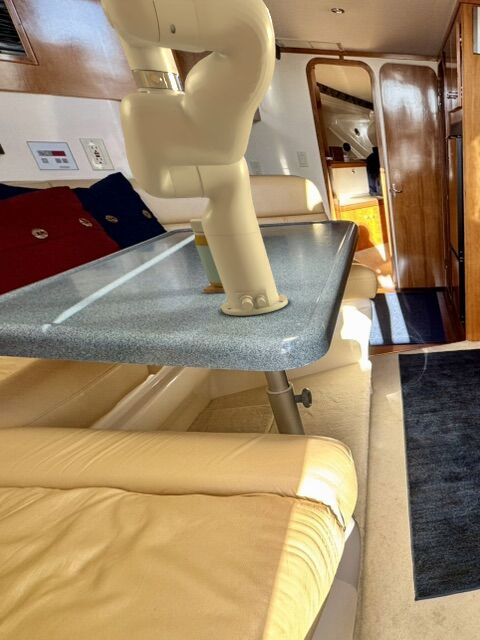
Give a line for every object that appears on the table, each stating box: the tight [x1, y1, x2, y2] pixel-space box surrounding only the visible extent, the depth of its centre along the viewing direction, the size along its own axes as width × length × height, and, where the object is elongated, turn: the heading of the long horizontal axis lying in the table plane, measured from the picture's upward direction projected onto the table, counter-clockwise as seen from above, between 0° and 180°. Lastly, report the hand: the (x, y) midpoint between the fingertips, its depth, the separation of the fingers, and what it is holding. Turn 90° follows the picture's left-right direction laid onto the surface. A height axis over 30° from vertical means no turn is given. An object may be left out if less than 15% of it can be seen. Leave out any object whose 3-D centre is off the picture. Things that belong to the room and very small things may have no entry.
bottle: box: [188, 217, 223, 287], centre depth 95 cm, size 7×7×15 cm
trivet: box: [203, 284, 225, 294], centre depth 99 cm, size 8×8×1 cm
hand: (192, 181), depth 88 cm, fingers open, 9 cm apart
